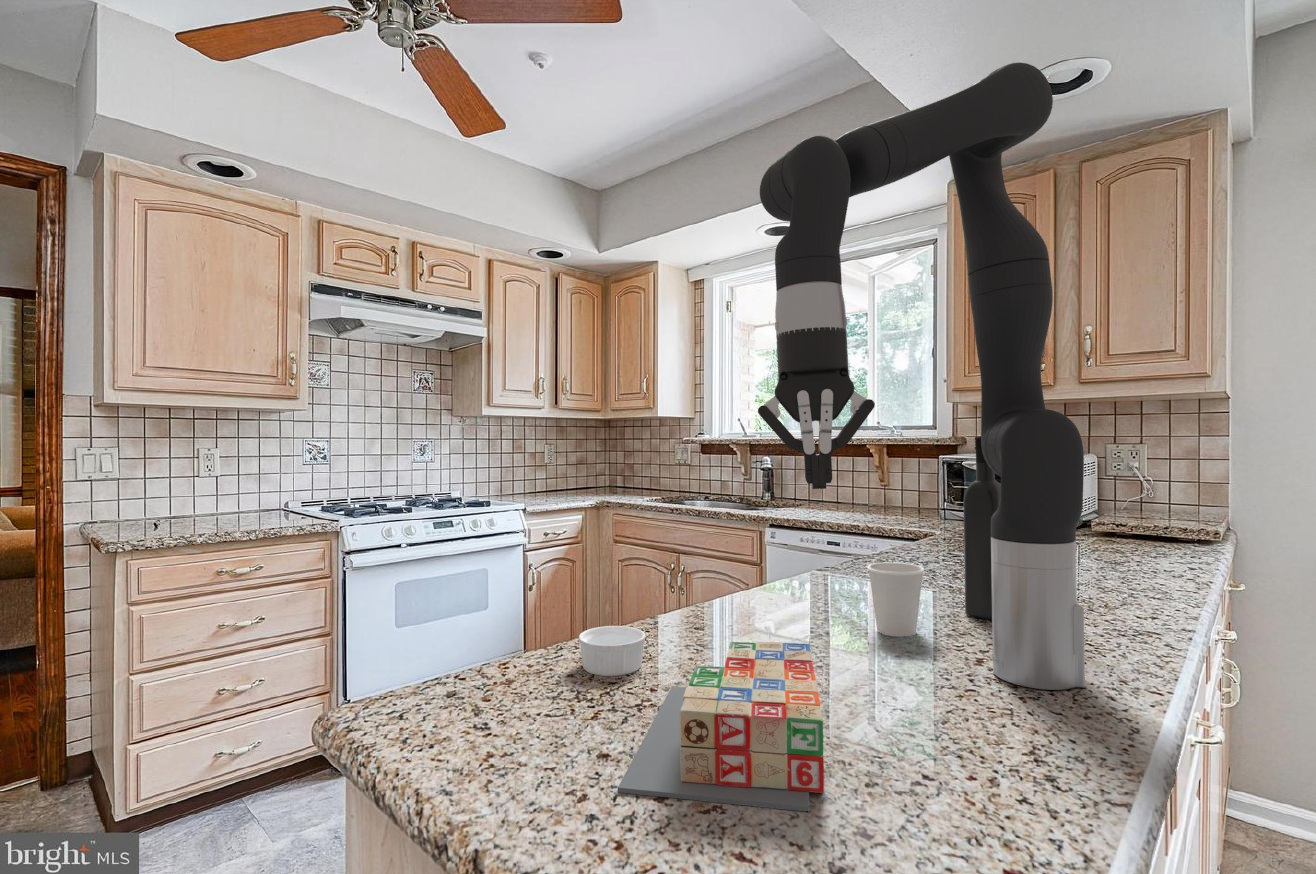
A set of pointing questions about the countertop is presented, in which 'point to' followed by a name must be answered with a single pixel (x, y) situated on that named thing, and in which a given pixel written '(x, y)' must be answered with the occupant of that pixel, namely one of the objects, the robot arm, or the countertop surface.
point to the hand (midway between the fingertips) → (818, 488)
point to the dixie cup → (896, 596)
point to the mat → (661, 769)
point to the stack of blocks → (754, 720)
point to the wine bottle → (979, 537)
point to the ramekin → (612, 650)
